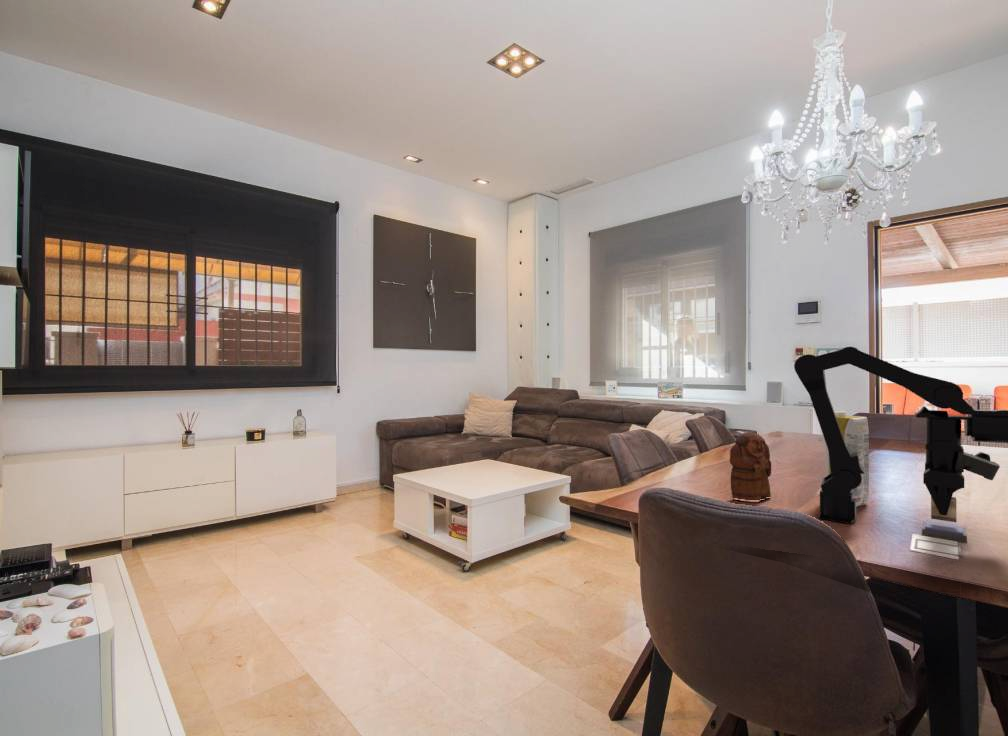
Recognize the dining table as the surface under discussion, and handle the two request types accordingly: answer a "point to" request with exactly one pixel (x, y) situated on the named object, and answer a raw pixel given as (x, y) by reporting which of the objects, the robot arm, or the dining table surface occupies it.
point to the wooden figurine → (750, 467)
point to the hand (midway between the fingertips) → (943, 512)
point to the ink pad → (944, 530)
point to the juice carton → (854, 450)
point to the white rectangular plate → (935, 546)
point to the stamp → (950, 515)
